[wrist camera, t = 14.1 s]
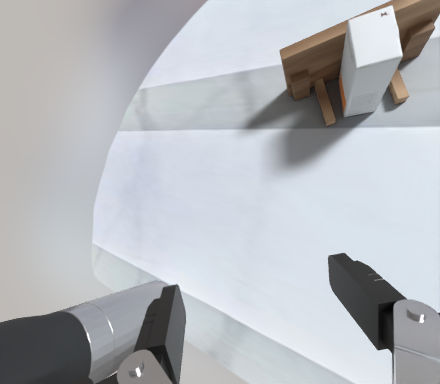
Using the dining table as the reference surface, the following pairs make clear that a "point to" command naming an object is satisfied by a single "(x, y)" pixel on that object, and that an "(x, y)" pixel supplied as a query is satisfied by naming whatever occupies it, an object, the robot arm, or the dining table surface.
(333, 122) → the wooden stand
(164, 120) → the dining table surface
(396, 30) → the skincare box
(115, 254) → the dining table surface
